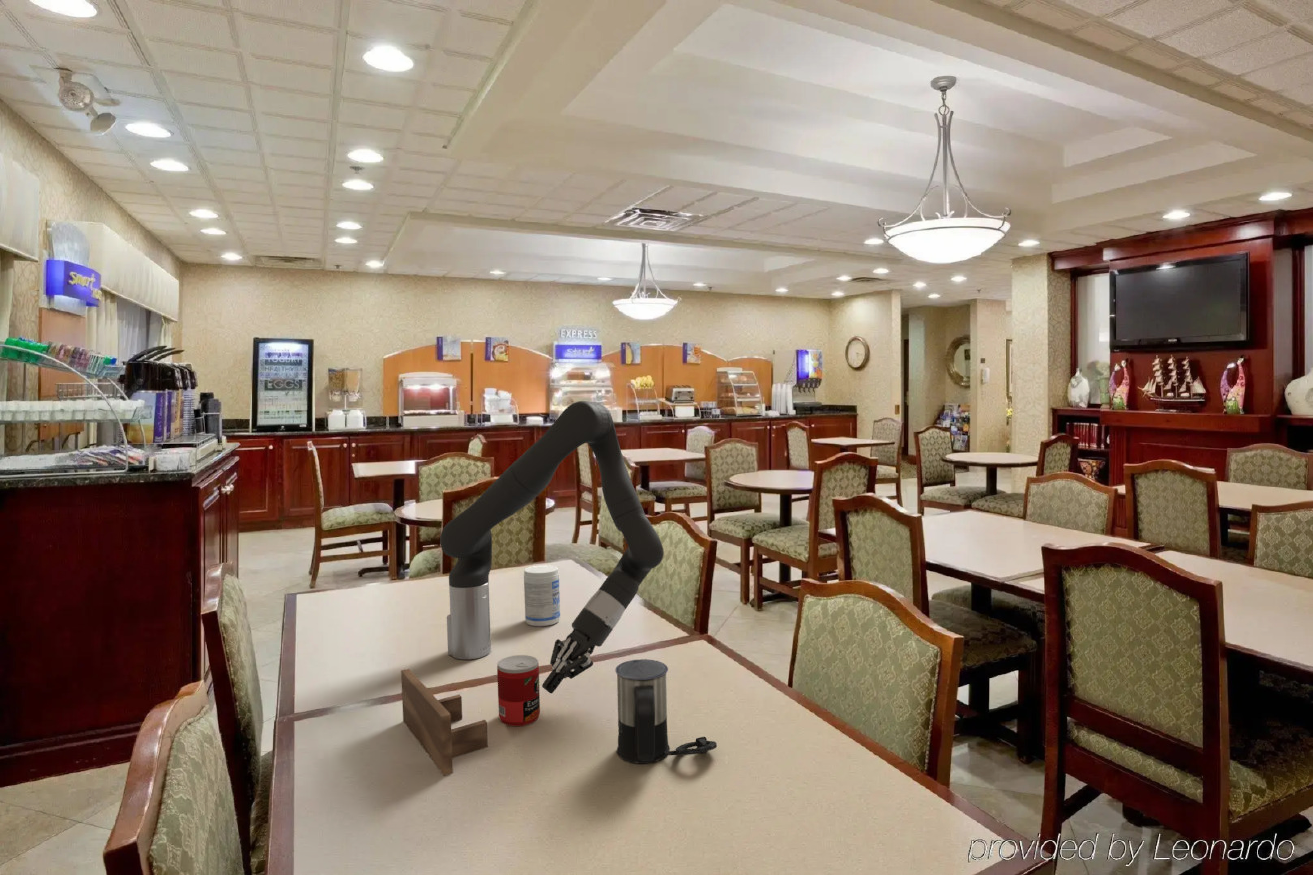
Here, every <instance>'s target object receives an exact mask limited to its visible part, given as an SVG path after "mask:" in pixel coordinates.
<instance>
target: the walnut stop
mask: <svg viewBox="0 0 1313 875" xmlns="http://www.w3.org/2000/svg"><path fill="white" fill-rule="evenodd" d="M400 674H401V675H400V676H401V677H400V678H401V700H402V702H401V703H402V722H403V724H404V725H405V726H406V728H408V730H409V731H410V732H411V734H412V735H413V736H414V737H415V739H416V741H417V742H418V743H419V744H420V746H421V747H422V749H423V750H424V751H425V752H426V755H428V757H429V758H430V759H431V761H432V763H434V765H435V766H436V768H437V769H438V770H439V771H440V773H441V774H442V775H443V776H448V775H451V774H453V773H454V769H453V768H454V767H453V766H454V765H453V759H454V758H458V757H460V756H463V755H467V754H470V753H473V752H476V751H479V750H482V749H486V748H489V738H488V734H489V733H488V721H487V720H486V719H482V720H479V721H476V722H472V723H468V724H465V725H462V726H458V727H455V728H452V723H454V722H458V721H461V720H463V706H462V705H463V703H462V702H463V701H462V696H461V694H456V695H452V696H448V697H444V698H440V699H437V697H436V696H435V695H434V694H433V693H432V692H431V691H430V689H428V687H426V685H424V684H425V683H423V682H422V681H421V680H420V679H419V678H418V677H417V676H416V675H415V674H414V672H412V670H411V669H410V668H407V669H401V670H400Z"/></svg>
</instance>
